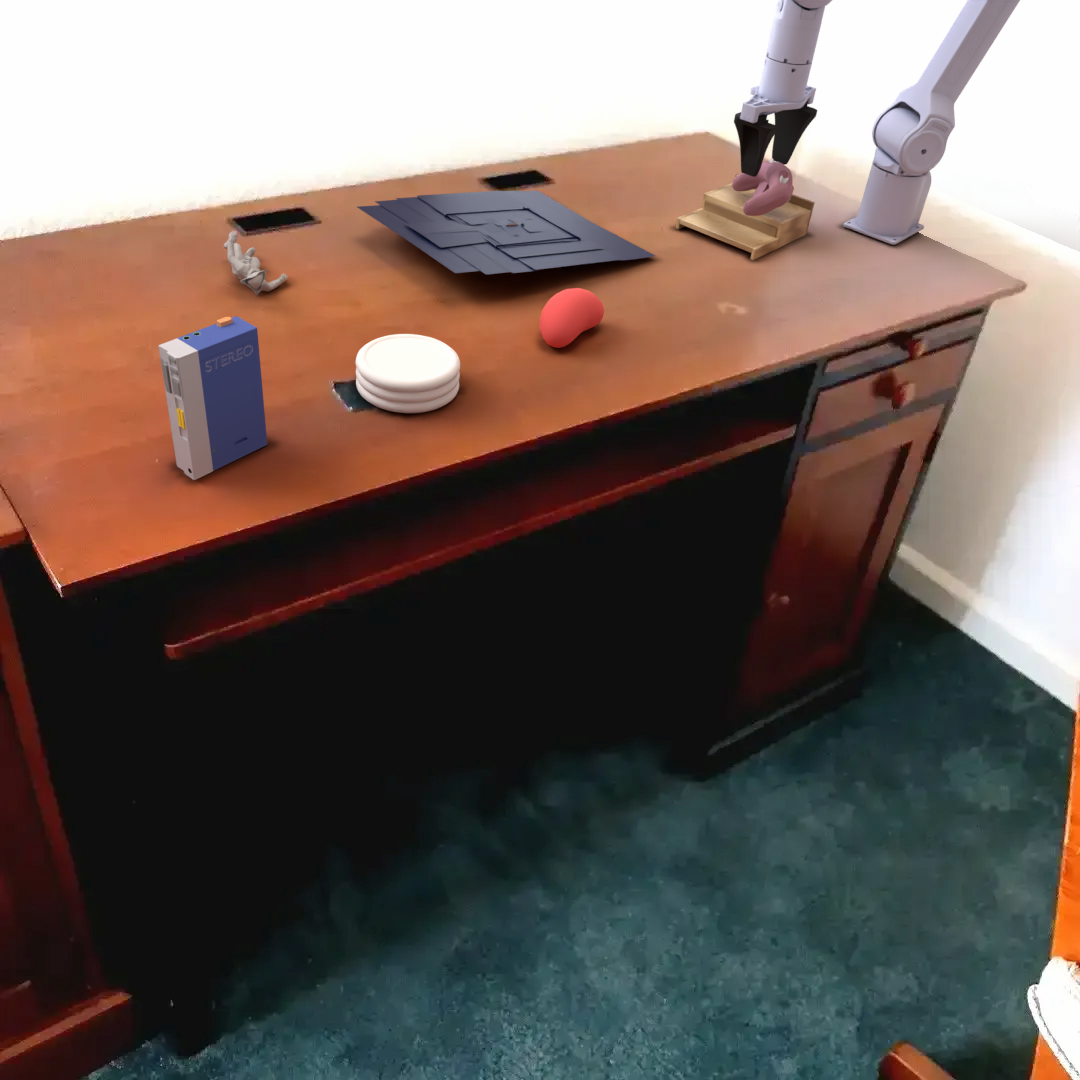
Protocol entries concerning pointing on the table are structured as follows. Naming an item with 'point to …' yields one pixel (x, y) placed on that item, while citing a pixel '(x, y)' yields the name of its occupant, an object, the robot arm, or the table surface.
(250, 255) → the soldier figure
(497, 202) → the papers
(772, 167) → the video game controller
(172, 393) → the walkman
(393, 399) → the coaster
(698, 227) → the step shelf
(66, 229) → the table surface
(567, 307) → the red kidney bean
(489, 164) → the table surface
